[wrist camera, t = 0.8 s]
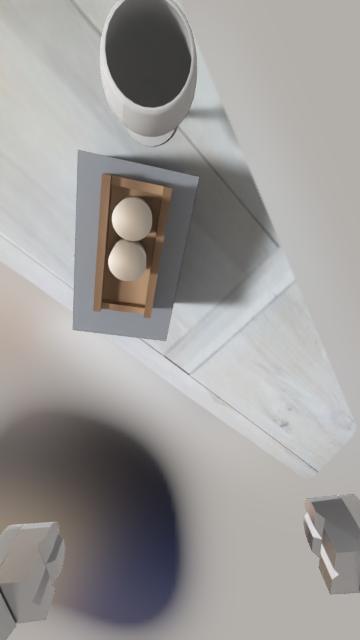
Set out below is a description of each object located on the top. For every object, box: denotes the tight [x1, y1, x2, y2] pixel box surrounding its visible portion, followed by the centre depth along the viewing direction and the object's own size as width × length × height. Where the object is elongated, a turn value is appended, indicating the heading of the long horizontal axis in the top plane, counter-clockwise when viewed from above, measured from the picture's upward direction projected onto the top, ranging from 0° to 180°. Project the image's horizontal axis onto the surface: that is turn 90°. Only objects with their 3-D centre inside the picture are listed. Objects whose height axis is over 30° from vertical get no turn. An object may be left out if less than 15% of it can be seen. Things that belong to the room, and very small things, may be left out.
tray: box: [93, 173, 172, 318], centre depth 30 cm, size 6×14×5 cm, turn 169°
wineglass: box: [100, 0, 197, 146], centre depth 27 cm, size 8×8×21 cm
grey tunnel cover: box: [73, 150, 199, 341], centre depth 38 cm, size 20×12×12 cm, turn 169°
